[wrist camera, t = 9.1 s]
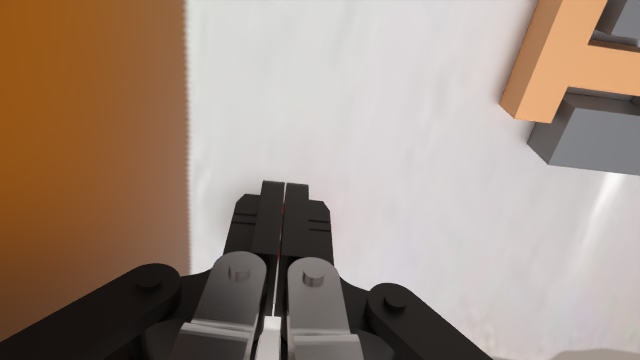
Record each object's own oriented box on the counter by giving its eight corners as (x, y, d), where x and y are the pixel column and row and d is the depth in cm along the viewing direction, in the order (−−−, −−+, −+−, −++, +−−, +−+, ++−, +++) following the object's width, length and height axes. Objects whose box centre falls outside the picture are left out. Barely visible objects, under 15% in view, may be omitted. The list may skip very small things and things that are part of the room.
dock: (612, -50, 38) (649, -47, 34) (719, -31, 39) (769, -26, 35) (526, 144, 49) (547, 164, 44) (614, 154, 50) (642, 175, 45)
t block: (543, -13, 40) (565, -8, 37) (658, 5, 41) (689, 12, 38) (498, 104, 46) (514, 118, 43) (599, 117, 47) (622, 132, 44)
